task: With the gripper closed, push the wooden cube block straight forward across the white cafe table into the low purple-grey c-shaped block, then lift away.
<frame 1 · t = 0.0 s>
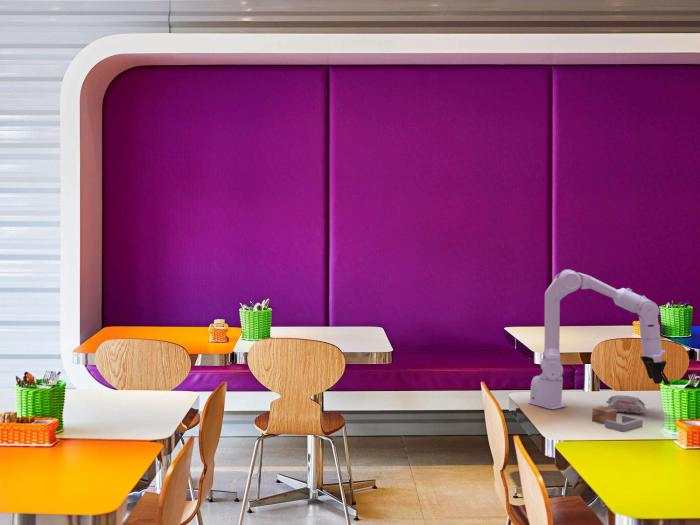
hand: (655, 380, 239), 11 cm above the table, fingers open, 7 cm apart
packaged food: (625, 412, 242), on the table
purple-grey c-shaped block: (614, 424, 226), on the table
wooden cube block: (603, 422, 229), on the table
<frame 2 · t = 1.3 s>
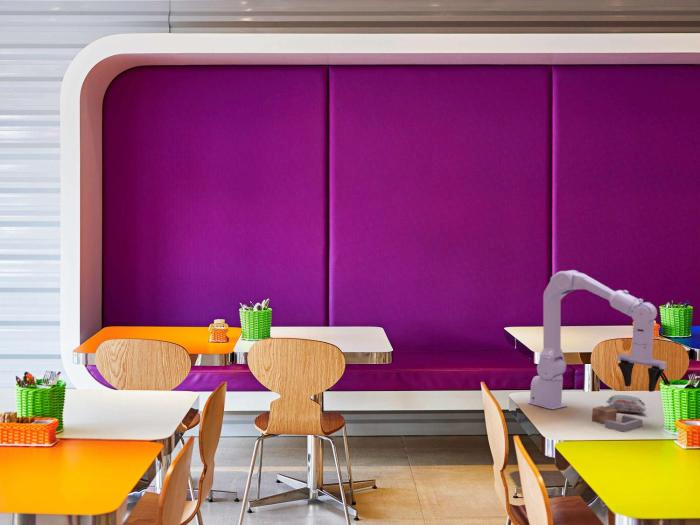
hand: (639, 388, 228), 10 cm above the table, fingers open, 7 cm apart
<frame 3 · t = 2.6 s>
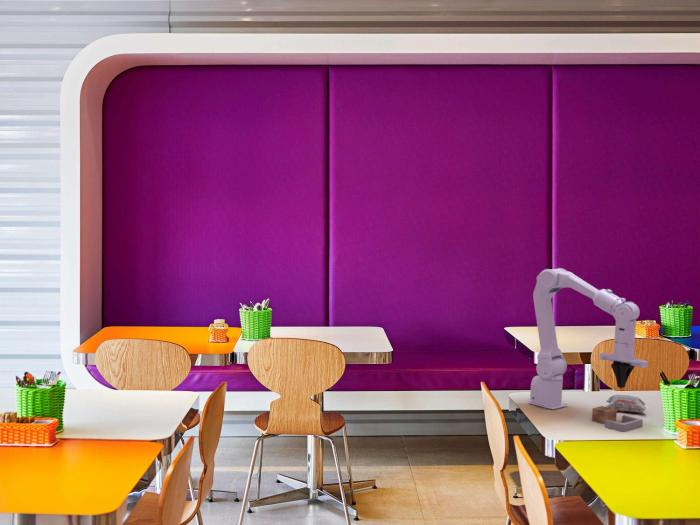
hand: (621, 387, 230), 10 cm above the table, fingers closed
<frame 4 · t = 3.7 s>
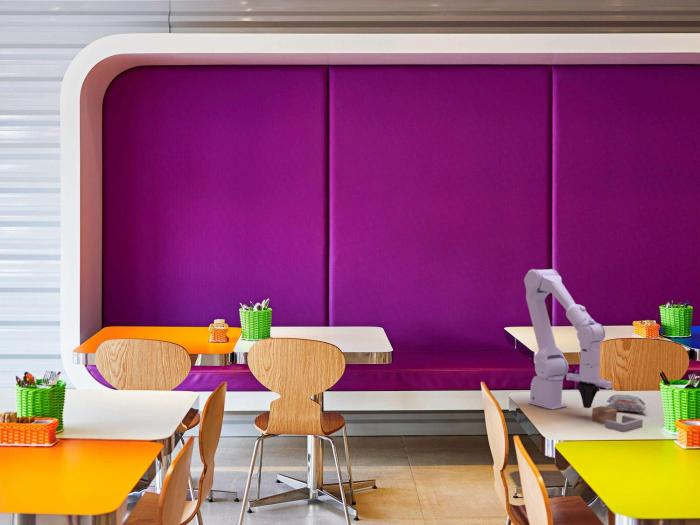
hand: (587, 407, 233), 3 cm above the table, fingers closed
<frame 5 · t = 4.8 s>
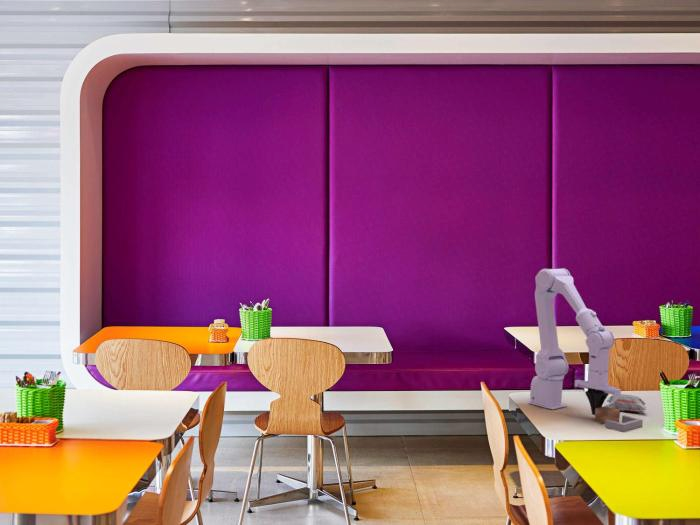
hand: (595, 414, 231), 1 cm above the table, fingers closed
wooden cube block: (606, 422, 228), on the table, touching gripper
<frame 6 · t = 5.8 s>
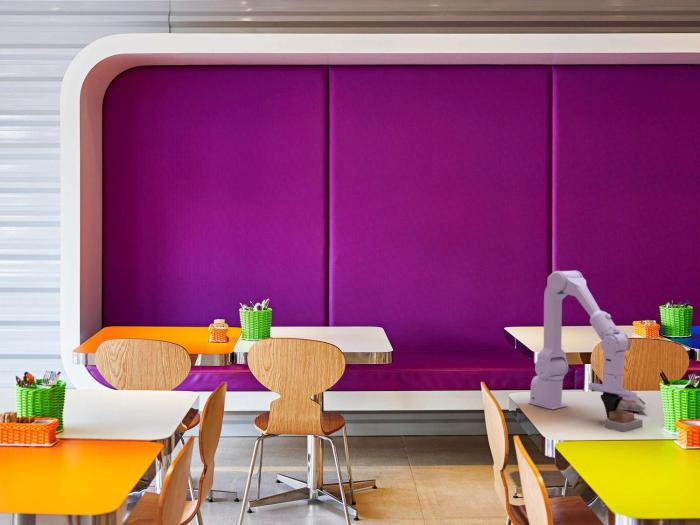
hand: (610, 418, 227), 1 cm above the table, fingers closed
wooden cube block: (620, 426, 225), on the table, touching purple-grey c-shaped block, gripper
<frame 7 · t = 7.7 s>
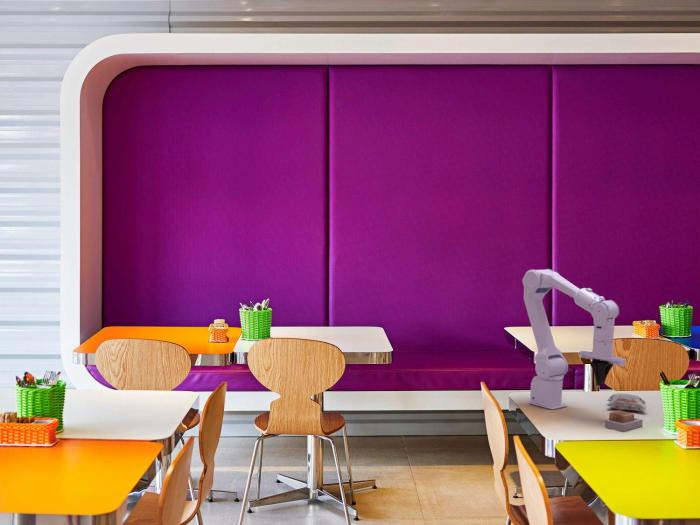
hand: (600, 385, 231), 10 cm above the table, fingers closed
wooden cube block: (621, 426, 225), on the table
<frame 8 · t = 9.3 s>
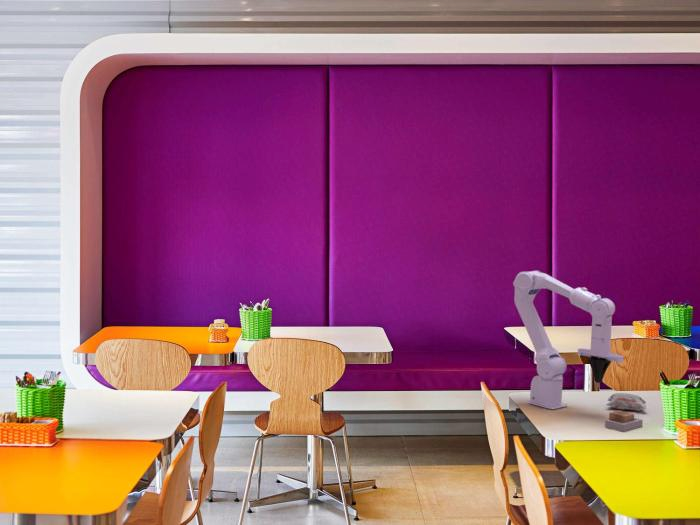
hand: (598, 381, 235), 10 cm above the table, fingers closed
at the end: wooden cube block 0.3 cm from the target spot on the purple-grey c-shaped block, point 0.0 cm above the purple-grey c-shaped block's base; wooden cube block tilted 0° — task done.
